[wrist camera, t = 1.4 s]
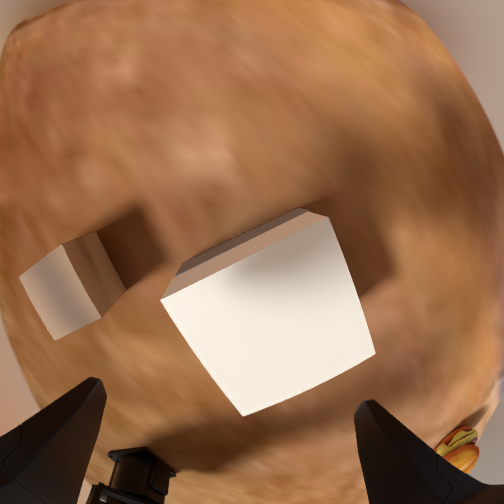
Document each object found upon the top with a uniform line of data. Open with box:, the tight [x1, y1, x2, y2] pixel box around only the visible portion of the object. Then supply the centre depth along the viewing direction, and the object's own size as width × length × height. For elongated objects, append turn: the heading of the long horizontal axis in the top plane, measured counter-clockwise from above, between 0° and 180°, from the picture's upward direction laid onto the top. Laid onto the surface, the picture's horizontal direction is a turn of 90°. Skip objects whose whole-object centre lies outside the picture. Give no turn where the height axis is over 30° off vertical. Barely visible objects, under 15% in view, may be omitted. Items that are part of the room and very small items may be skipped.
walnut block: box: [19, 232, 126, 340], centre depth 16 cm, size 5×5×5 cm
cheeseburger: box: [434, 426, 479, 474], centre depth 27 cm, size 10×11×10 cm
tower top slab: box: [160, 212, 375, 416], centre depth 16 cm, size 9×9×4 cm
